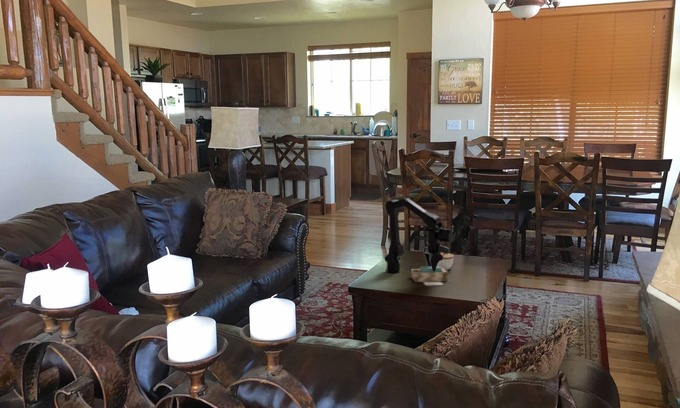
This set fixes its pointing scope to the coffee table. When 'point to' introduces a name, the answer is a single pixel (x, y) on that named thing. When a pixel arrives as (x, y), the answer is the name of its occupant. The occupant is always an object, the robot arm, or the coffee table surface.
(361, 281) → the coffee table surface
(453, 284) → the coffee table surface
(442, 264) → the lidded jar
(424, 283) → the mat
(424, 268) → the light blue rectangular block
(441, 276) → the wooden tray
